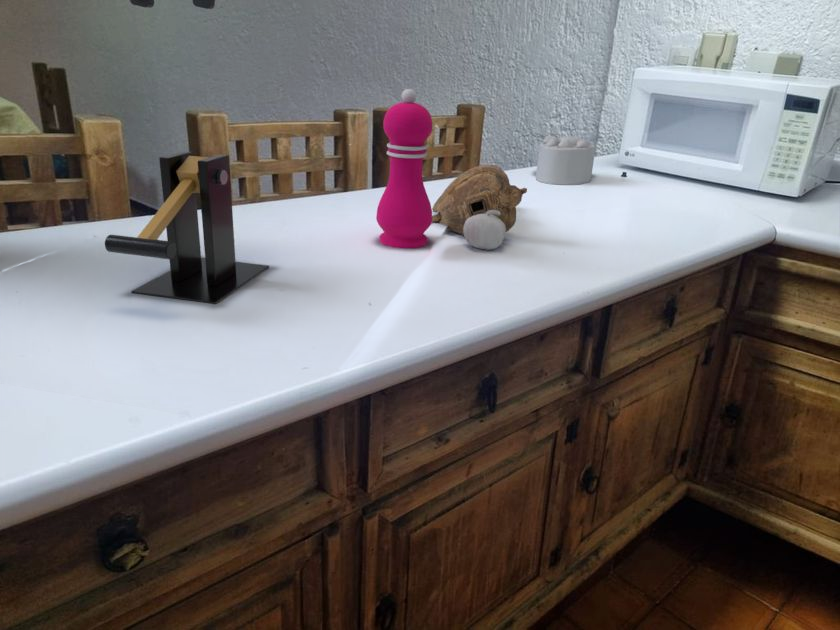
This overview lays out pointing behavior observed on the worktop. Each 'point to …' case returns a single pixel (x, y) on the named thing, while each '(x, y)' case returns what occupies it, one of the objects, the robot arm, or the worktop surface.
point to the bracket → (187, 268)
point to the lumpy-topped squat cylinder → (565, 161)
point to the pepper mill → (405, 176)
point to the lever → (160, 219)
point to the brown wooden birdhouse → (478, 198)
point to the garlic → (484, 230)
